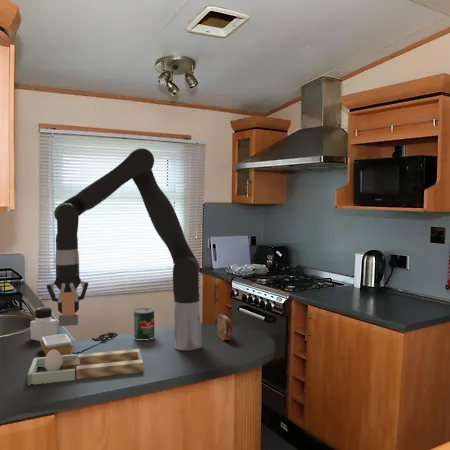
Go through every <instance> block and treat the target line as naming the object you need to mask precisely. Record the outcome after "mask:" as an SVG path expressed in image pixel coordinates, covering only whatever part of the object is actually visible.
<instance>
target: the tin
mask: <svg viewBox="0 0 450 450" xmlns="http://www.w3.org/2000/svg"><path fill="white" fill-rule="evenodd" d="M214 324H215V326H214V327H215V332H216V335H217V337H219V339H221V340H222V341H230V340H231V338H232V331H233V330H232V329H233V324H232V320H231V319H230V318H229V317H228V316H226V315H225V314H221V313H220V314H219V313H218V314H216V317H215V323H214Z"/></svg>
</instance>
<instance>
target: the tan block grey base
mask: <svg viewBox="0 0 450 450" xmlns="http://www.w3.org/2000/svg"><path fill="white" fill-rule="evenodd" d="M74 302H75V299H74V292H64V293H62V314H60V313H59V314H58V327H66V326H67V327H69V326H78V325H79V311H77V312H76V313H75V303H74Z"/></svg>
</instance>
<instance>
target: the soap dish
mask: <svg viewBox="0 0 450 450" xmlns="http://www.w3.org/2000/svg"><path fill="white" fill-rule="evenodd" d="M39 342H40V346H41V348H42V351H43V353H44V357H46V355H47V354H48V352H49V351H51V350H57V351H58V352H59V353H60V354H61V355H64V354H69V355H71V353H72V350H73V349H74V348H73V347H74V344H73V342H72V341H71V339H70V337H69V335H68V334H67V333H61V334H60V333H59V334H57V335H52V336H45V337H42V340H40V341H39Z"/></svg>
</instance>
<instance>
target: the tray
mask: <svg viewBox="0 0 450 450" xmlns="http://www.w3.org/2000/svg"><path fill="white" fill-rule="evenodd" d="M61 356H62V361H65V360H74V359H78V353H76V354H73V353H72V354H69V355H61ZM45 358H46V356H41V357H33V360H32V362H31V365H30V368H29V369H28V372H27V378H26V379H27V386H31V384H33V385H40V384H42V383H43V384H50V383H59V382H68V381H75V380H76V373H75V369H69V370H63V369H61V370H59V371H49V372H48V371H41V372H36V371H38V369H39V368H38V367H42V368H45ZM62 365H63V363H62ZM37 368H38V369H37Z"/></svg>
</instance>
